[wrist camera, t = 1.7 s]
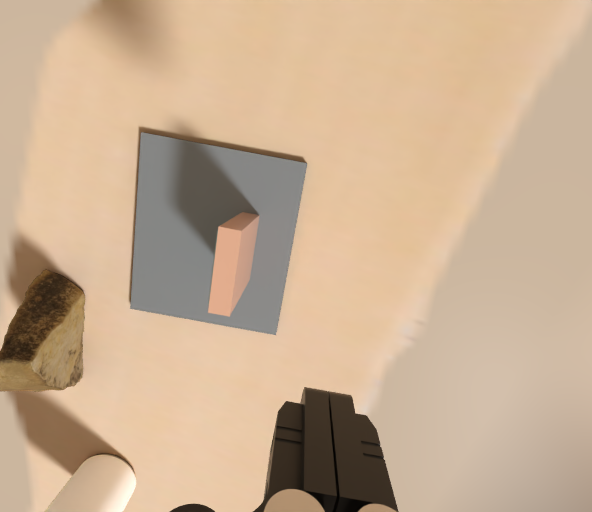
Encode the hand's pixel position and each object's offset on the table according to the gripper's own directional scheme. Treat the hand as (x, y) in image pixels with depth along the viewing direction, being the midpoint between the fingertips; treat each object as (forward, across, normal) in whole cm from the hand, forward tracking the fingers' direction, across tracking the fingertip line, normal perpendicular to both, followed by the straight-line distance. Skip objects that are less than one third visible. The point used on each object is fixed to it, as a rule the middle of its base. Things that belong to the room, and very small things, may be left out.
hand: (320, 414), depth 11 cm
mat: (+20, +9, 0) cm, 22 cm away
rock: (+21, +22, +12) cm, 33 cm away
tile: (+20, +6, 0) cm, 21 cm away
